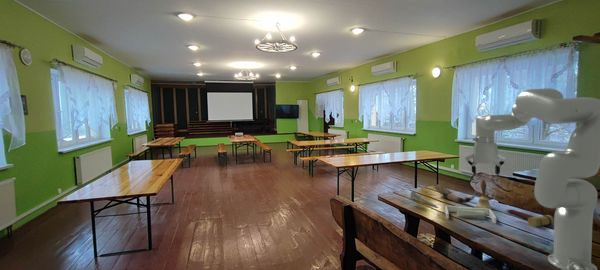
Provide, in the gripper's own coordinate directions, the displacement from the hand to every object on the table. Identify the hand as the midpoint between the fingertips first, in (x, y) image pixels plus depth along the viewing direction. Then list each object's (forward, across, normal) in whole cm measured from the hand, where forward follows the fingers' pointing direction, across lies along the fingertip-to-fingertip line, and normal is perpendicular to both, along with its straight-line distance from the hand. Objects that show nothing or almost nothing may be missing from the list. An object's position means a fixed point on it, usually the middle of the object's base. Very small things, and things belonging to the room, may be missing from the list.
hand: (485, 174), depth 137 cm
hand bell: (+24, +4, +22) cm, 33 cm away
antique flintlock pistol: (+24, -10, +29) cm, 39 cm away
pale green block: (+25, -6, +5) cm, 26 cm away
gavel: (+25, +19, +8) cm, 32 cm away
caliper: (+24, -28, +22) cm, 43 cm away
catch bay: (+24, -7, +4) cm, 26 cm away
